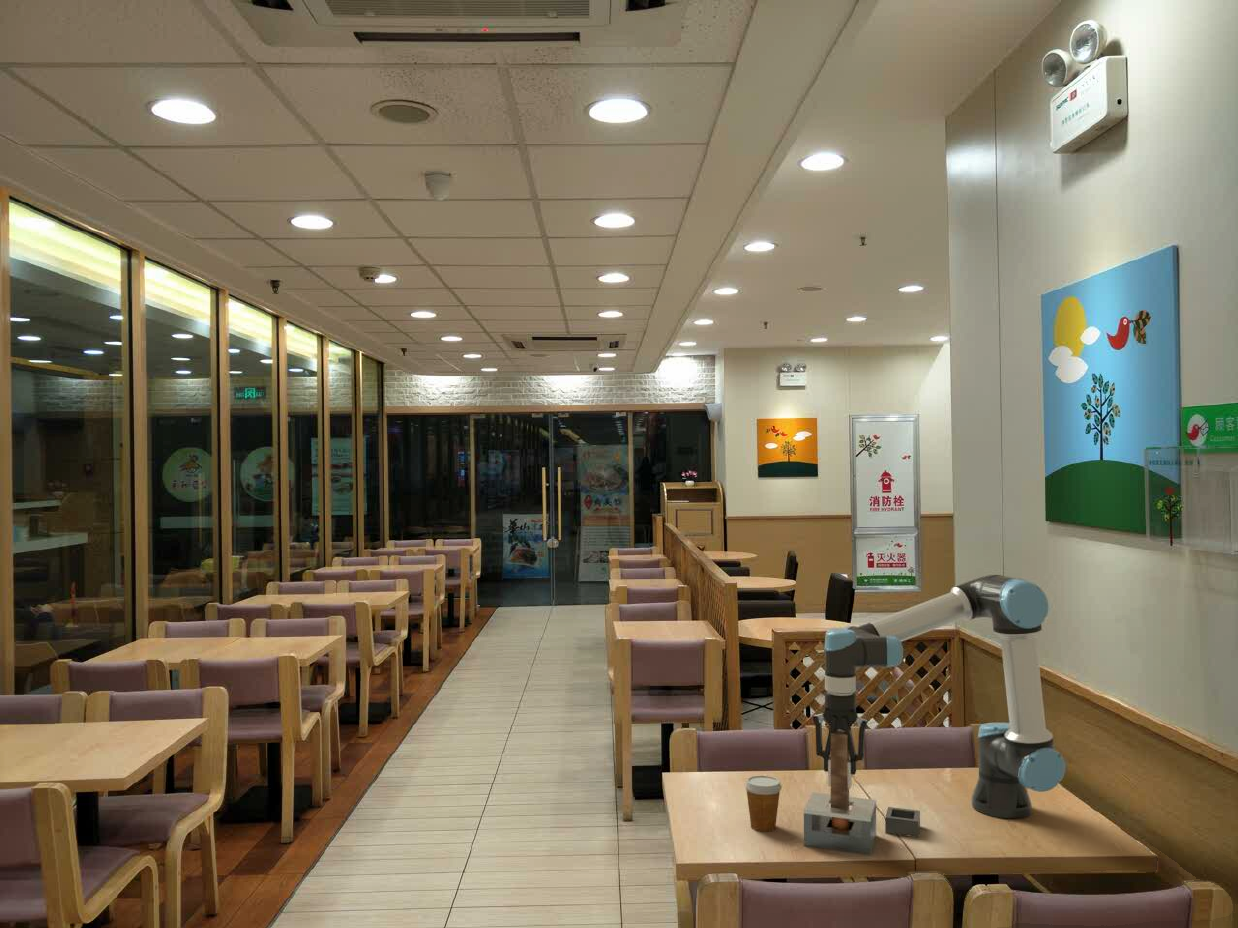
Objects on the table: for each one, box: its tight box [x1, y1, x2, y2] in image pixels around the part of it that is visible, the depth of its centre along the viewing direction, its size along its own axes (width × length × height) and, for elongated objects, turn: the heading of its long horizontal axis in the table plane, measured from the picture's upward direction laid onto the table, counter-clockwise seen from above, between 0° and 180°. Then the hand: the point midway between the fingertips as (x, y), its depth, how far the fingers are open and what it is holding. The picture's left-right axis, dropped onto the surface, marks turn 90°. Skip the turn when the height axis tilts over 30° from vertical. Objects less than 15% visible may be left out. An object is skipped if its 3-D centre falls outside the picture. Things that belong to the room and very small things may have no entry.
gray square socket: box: [884, 806, 921, 838], centre depth 244 cm, size 8×8×4 cm
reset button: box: [831, 817, 850, 830], centre depth 237 cm, size 4×4×4 cm
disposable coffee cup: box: [744, 775, 782, 832], centre depth 246 cm, size 10×10×12 cm
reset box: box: [803, 791, 877, 856], centre depth 237 cm, size 16×13×9 cm
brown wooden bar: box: [830, 729, 850, 810], centre depth 237 cm, size 4×4×20 cm
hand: (840, 785), depth 237 cm, fingers closed on brown wooden bar, 4 cm apart
